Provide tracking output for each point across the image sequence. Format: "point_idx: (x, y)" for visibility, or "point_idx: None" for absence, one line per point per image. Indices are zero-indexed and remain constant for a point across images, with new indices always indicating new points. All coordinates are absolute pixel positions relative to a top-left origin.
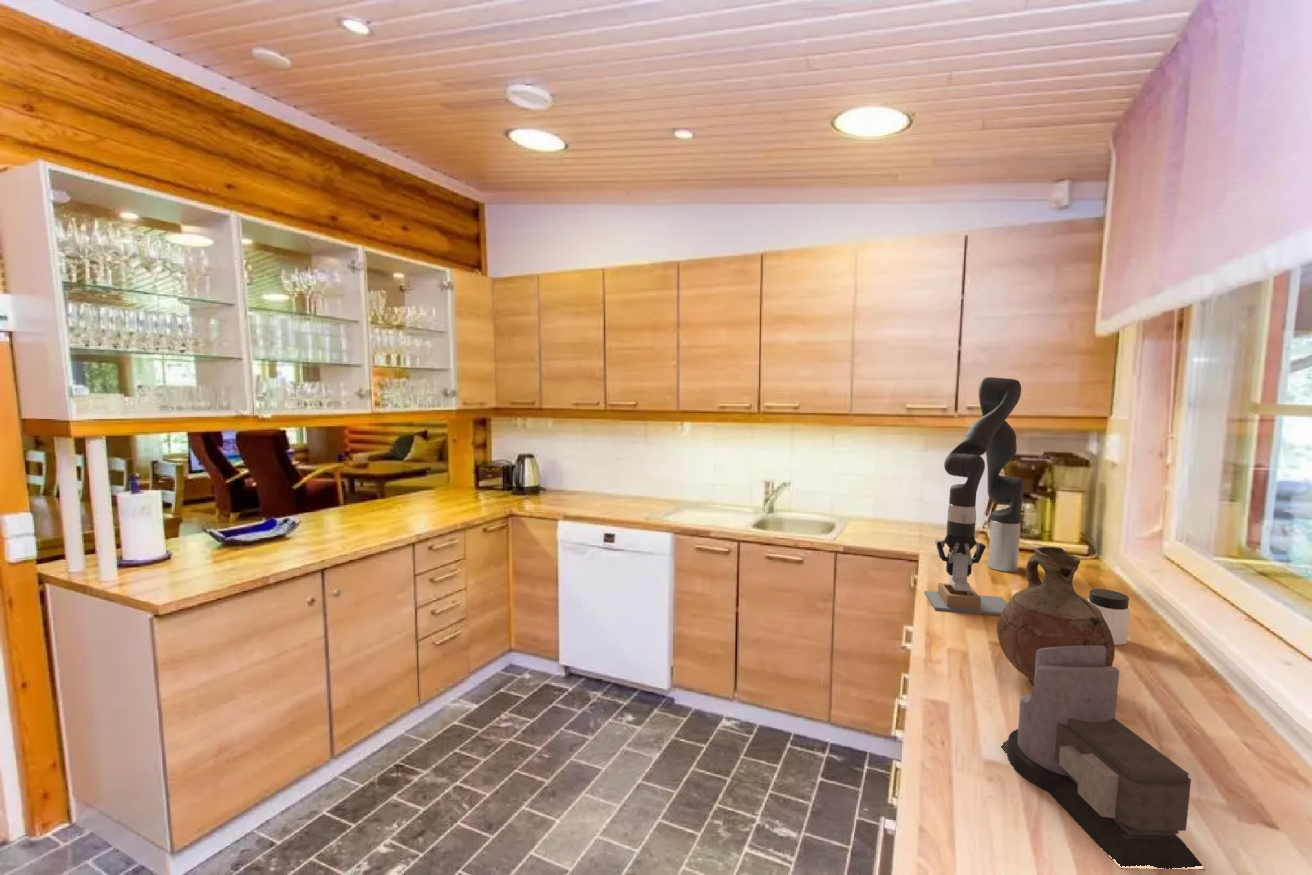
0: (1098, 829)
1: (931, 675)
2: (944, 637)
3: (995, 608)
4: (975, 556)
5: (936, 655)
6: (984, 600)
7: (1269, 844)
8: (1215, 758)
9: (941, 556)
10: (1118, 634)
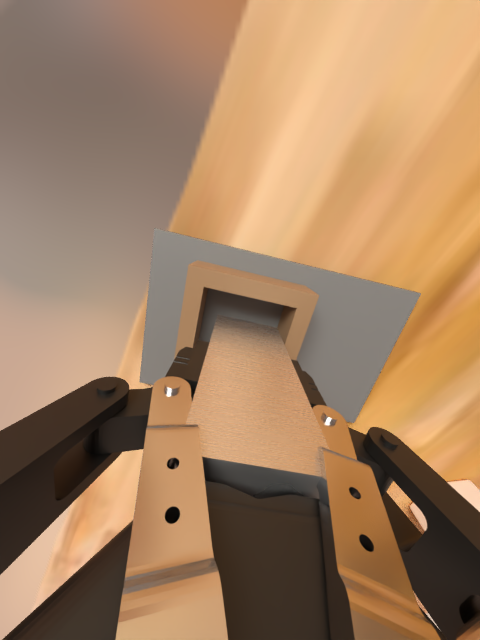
0: None
1: (57, 585)
2: (115, 501)
3: (319, 387)
4: (404, 476)
5: (79, 548)
6: (331, 327)
7: None
8: None
9: (65, 466)
10: None
